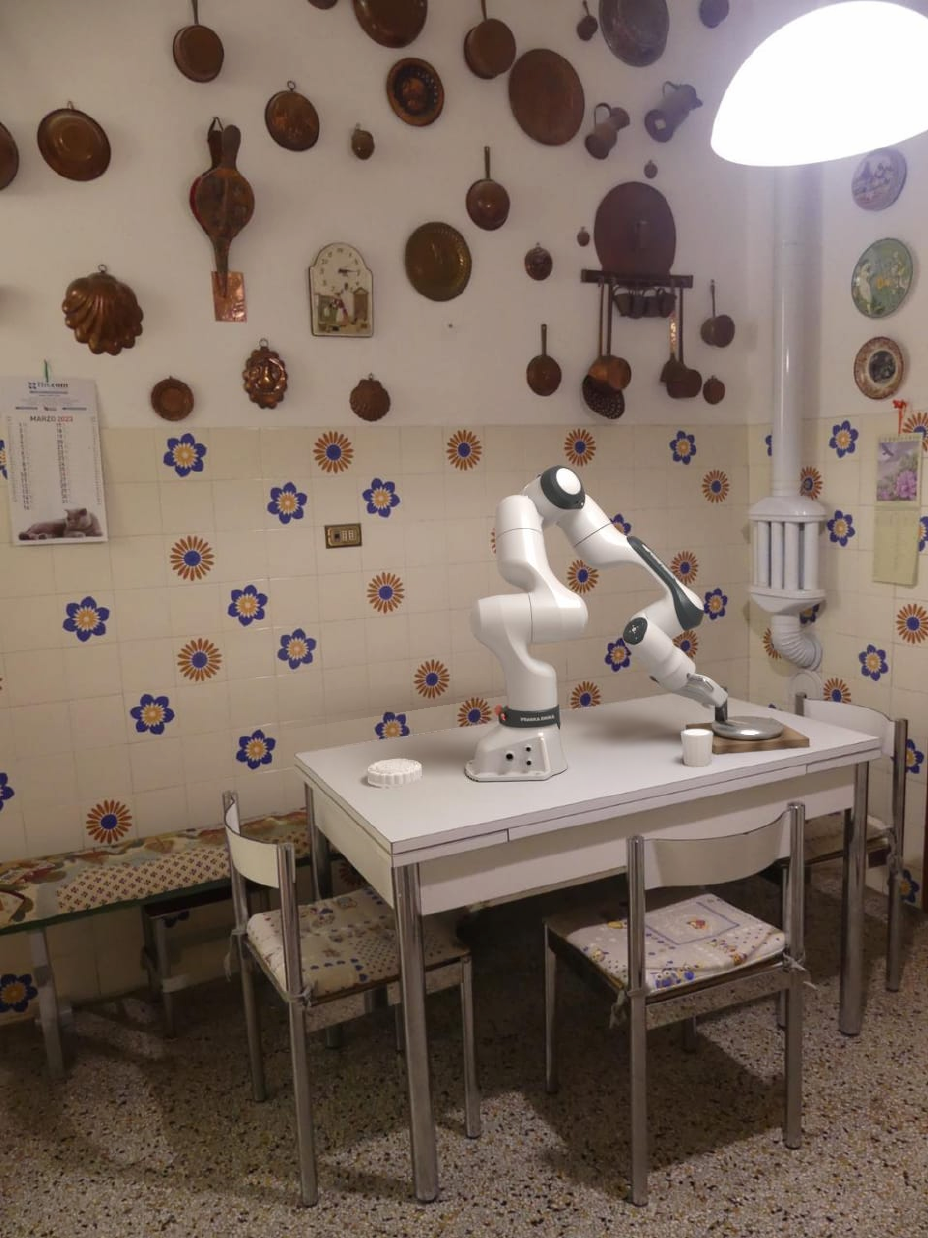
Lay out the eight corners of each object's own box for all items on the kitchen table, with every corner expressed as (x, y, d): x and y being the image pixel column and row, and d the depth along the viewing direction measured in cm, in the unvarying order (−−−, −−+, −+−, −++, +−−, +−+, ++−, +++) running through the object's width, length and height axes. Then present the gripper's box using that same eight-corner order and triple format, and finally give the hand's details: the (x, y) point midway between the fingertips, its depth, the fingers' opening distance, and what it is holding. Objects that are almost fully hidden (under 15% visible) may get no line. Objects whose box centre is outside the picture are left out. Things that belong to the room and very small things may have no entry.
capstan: (796, 729, 221) (796, 689, 220) (758, 743, 211) (757, 702, 210) (734, 718, 234) (734, 680, 233) (696, 731, 224) (695, 692, 222)
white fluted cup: (714, 768, 203) (714, 736, 202) (681, 767, 205) (681, 736, 204) (712, 758, 210) (712, 728, 209) (681, 758, 211) (680, 728, 210)
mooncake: (383, 770, 215) (382, 755, 214) (431, 774, 210) (430, 758, 209) (357, 787, 204) (356, 770, 203) (407, 791, 199) (406, 774, 199)
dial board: (715, 754, 213) (715, 744, 212) (685, 732, 232) (685, 723, 232) (809, 747, 215) (809, 737, 214) (772, 725, 234) (772, 716, 234)
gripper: (711, 667, 212) (747, 704, 217) (658, 654, 231) (691, 688, 236) (695, 690, 211) (731, 726, 216) (643, 675, 229) (677, 708, 235)
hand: (710, 706), depth 226 cm, fingers closed
